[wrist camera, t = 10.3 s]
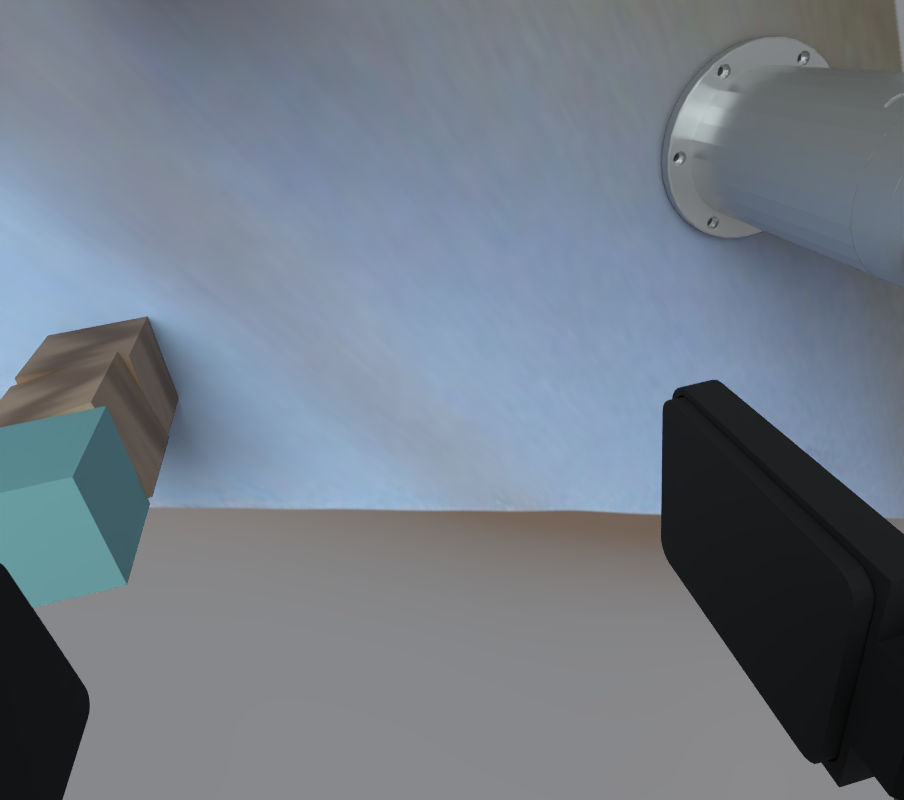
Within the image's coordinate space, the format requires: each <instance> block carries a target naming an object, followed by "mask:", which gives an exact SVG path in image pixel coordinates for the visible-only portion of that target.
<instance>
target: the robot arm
mask: <svg viewBox="0 0 904 800" xmlns="http://www.w3.org/2000/svg"><path fill="white" fill-rule="evenodd" d="M718 69H719V73H718ZM675 155H676V157H675V159H674V156H675ZM673 159H674V160H673ZM662 171H663V181H664V184H665V188H666V191H667V194H668V197H669V199H670V201H671V203H672V205H673V206H674V208H675V210H676V211H677V212H678V213H679V215H680V216H681V217H682V218H683V219H684V220H685V221H686V222H687V223H689V224H690V225H692V226H693V227H695V228H696V229H698V230H700V231H702V232H705V233H707V234H709V235H713V236H717V237H722V238H741V237H746V236H751V235H755V234H757V233H760V232H762V231H765V232H767V233H770V234H772V235H775V236H777V237H780V238H782V239H785V240H787V241H789V242H792V243H794V244H797V245H799V246H802V247H804V248H807V249H809V250H811V251H814V252H816V253H819V254H821V255H824V256H826V257H828V258H831V259H833V260H836V261H838V262H841V263H843V264H846V265H848V266H850V267H853V268H855V269H858V270H860V271H863V272H865V273H868V274H870V275H872V276H875V277H877V278H880V279H882V280H885V281H888V282H891V283H893V284H895V285H898V286H901V287H903V288H904V72H888V71H872V70H856V69H840V68H831V67H830V66H829V64H828V63H827V61H826V60H825V58H824V57H823V56H822V55H821V54H820V53H819V52H818V51H816V50H815V49H814V48H813V47H812V46H810V45H808V44H806V43H804V42H802V41H800V40H797V39H792V38H787V37H774V36H766V37H760V38H754V39H749V40H746V41H743V42H741V43H738V44H736V45H733V46H731V47H730V48H728V49H726V50H725V51H723V52H722V53H720V54H718V55H717V56H715V57H714V58H713V59H712V60H711V61H710V62H709V63H707V64H706V65H705V66H704V67H703V68H702V69H701V70H700V71H699V72H698V73H697V74H696V76H695V77H694V78H693V79H692V81H691V82H690V83H689V84H688V85H687V87H686V88H685V90H684V92H683V93H682V95H681V97H680V98H679V100H678V102H677V104H676V105H675V108H674V110H673V113H672V115H671V118H670V120H669V123H668V125H667V130H666V134H665V138H664V142H663V152H662ZM661 518H662V519H661V541H662V546H663V550H664V553H665V556H666V558H667V560H668V561H669V563H670V565H671V566H672V568H673V569H674V570H675V572H676V573H677V575H678V576H679V578H680V579H681V581H682V582H683V583H684V585H685V586H686V588H687V589H688V591H689V592H690V593H691V595H692V596H693V598H694V599H695V601H696V602H697V604H698V605H699V606H700V608H701V609H702V611H703V612H704V614H705V615H706V617H707V618H708V619H709V621H710V622H711V624H712V625H713V627H714V628H715V630H716V631H717V632H718V634H719V635H720V637H721V638H722V640H723V641H724V642H725V644H726V645H727V647H728V648H729V650H730V651H731V652H732V654H733V655H734V657H735V658H736V660H737V661H738V663H739V664H740V665H741V667H742V668H743V670H744V671H745V673H746V674H747V676H748V677H749V679H750V680H751V681H752V683H753V684H754V686H755V687H756V689H757V690H758V691H759V693H760V694H761V696H762V697H763V698H764V700H765V701H766V703H767V704H768V706H769V707H770V709H771V710H772V712H773V713H774V715H775V716H776V717H777V719H778V720H779V722H780V723H781V725H782V726H783V727H784V729H785V730H786V732H787V733H788V734H789V736H790V738H791V739H792V740H793V742H794V743H795V745H796V746H797V748H798V749H799V750H800V752H801V753H802V754H803V756H804V757H805V758H806V759H807V760H809V761H810V762H811V763H814V764H816V763H820V762H821V763H822V764H823V765H824V767H825V768H826V770H827V771H828V772H829V774H830V775H831V777H832V778H833V779H834V781H835V782H836V784H837V785H838V786H839V787H842V786H845V785H848V784H852V783H855V782H858V781H861V780H865V779H868V778H871V777H875V778H876V779H877V780H878V782H879V783H880V784H881V785H882V787H883V788H884V789H885V791H886V792H887V793H888V795H889V796H891V797H893V798H894V800H904V534H903V533H902V532H900V531H899V530H898V529H897V528H896V527H894V526H893V525H892V524H891V523H890V522H888V521H887V520H886V519H885V518H884V517H882V516H881V515H880V514H879V513H878V512H876V511H875V510H874V509H873V508H872V507H870V506H869V505H868V504H867V503H866V502H864V501H863V500H862V499H861V498H860V497H858V496H857V495H856V494H855V493H854V492H852V491H851V490H850V489H849V488H847V487H846V486H845V485H844V484H843V483H841V482H840V481H839V480H838V479H837V478H835V477H834V476H833V475H832V474H831V473H829V472H828V471H827V470H826V469H825V468H823V467H822V466H821V465H820V464H819V463H817V462H816V461H815V460H814V459H813V458H811V457H810V456H809V455H808V454H807V453H805V452H804V451H803V450H802V449H801V448H799V447H798V446H797V445H796V444H795V443H793V442H792V441H791V440H790V439H789V438H787V437H786V436H785V435H784V434H783V433H781V432H780V431H779V430H778V429H777V428H775V427H774V426H773V425H772V424H771V423H769V422H768V421H767V420H766V419H765V418H763V417H762V416H761V415H760V414H758V413H757V412H756V411H755V410H754V409H752V408H751V407H750V406H749V405H748V404H746V403H745V402H744V401H743V400H742V399H740V398H739V397H738V396H737V395H736V394H734V393H733V392H732V391H731V390H730V389H728V388H727V387H726V386H725V385H724V384H722V383H721V382H719V381H718V380H710V381H705V382H701V383H697V384H693V385H689V386H684V387H680V388H677V389H676V390H675V391H674V394H673V398H672V400H668V401H666V402H665V403H664V406H663V431H662V510H661ZM89 708H90V702H89V695H88V692H87V690H86V688H85V686H84V684H83V683H82V682H81V680H80V678H79V677H78V675H77V674H76V672H75V671H74V669H73V668H72V666H71V665H70V663H69V662H68V660H67V659H66V657H65V656H64V654H63V653H62V651H61V650H60V648H59V647H58V645H57V644H56V642H55V641H54V639H53V638H52V636H51V635H50V633H49V632H48V630H47V629H46V627H45V626H44V624H43V623H42V621H41V620H40V618H39V617H38V615H37V614H36V612H35V611H34V609H33V608H32V606H31V605H30V603H29V602H28V600H27V599H26V597H25V596H24V594H23V593H22V591H21V590H20V588H19V587H18V585H17V584H16V582H15V581H14V579H13V578H12V576H11V575H10V573H9V572H8V570H7V569H6V568H5V567H4V565H3V564H1V563H0V800H62V799H63V796H64V793H65V790H66V786H67V783H68V780H69V777H70V773H71V770H72V767H73V764H74V761H75V758H76V754H77V751H78V748H79V745H80V742H81V738H82V735H83V732H84V729H85V725H86V722H87V719H88V715H89Z"/></svg>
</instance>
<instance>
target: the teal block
mask: <svg viewBox="0 0 904 800" xmlns="http://www.w3.org/2000/svg"><path fill="white" fill-rule="evenodd" d="M149 505H150V503H149V501H148V498H147V496H146V494H145V492H144V489H143V487H142V485H141V483H140V480H139V478H138V476H137V474H136V472H135V469H134V467H133V465H132V463H131V460H130V458H129V456H128V454H127V451H126V449H125V447H124V445H123V442H122V440H121V438H120V436H119V433H118V431H117V429H116V427H115V424H114V422H113V420H112V418H111V415H110V413H109V411H108V409H107V407H106V406H103V407H98V408H93V409H88V410H83V411H78V412H73V413H69V414H64V415H59V416H54V417H49V418H44V419H40V420H35V421H30V422H25V423H20V424H15V425H10V426H6V427H1V428H0V563H1V564H3V565H4V567H5V568H6V569H7V570H8V572H9V573H10V575H11V576H12V578H13V579H14V581H15V582H16V584H17V585H18V587H19V588H20V590H21V591H22V593H23V594H24V596H25V597H26V599H27V600H28V602H29V603H30V605H31V606H32V608H33V607H37V606H41V605H45V604H49V603H54V602H58V601H62V600H66V599H70V598H74V597H78V596H83V595H87V594H90V593H95V592H99V591H103V590H107V589H112V588H116V587H120V586H124V585H127V583H128V579H129V576H130V572H131V569H132V565H133V561H134V558H135V554H136V551H137V547H138V544H139V540H140V537H141V533H142V530H143V526H144V523H145V519H146V516H147V512H148V509H149Z"/></svg>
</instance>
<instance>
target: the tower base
mask: <svg viewBox="0 0 904 800" xmlns="http://www.w3.org/2000/svg"><path fill="white" fill-rule="evenodd" d="M115 351H118V352H119V354H120V356H121V357H122V359H123V361H124V362H125V364H126V366H127V367H128V369H129V371H130V372H131V374H132V376H133V377H134V379H135V381H136V382H137V384H138V386H139V387H140V389H141V391H142V392H143V394H144V396H145V397H146V399H147V401H148V402H149V404H150V406H151V407H152V409H153V411H154V412H155V414H156V416H157V417H158V419H159V421H160V422H161V424H162V426H163V427H164V429H165V431H166V432H167V434H168V433H169V430H170V426H171V423H172V419H173V416H174V412H175V409H176V405H177V402H178V395H177V393H176V390H175V388H174V385H173V382H172V380H171V377H170V375H169V372H168V369H167V367H166V364H165V361H164V359H163V356H162V354H161V351H160V348H159V346H158V343H157V341H156V338H155V335H154V333H153V330H152V327H151V325H150V322H149V320H148V317H142V318H137V319H132V320H127V321H122V322H117V323H111V324H106V325H101V326H96V327H91V328H85V329H80V330H75V331H70V332H65V333H59V334H54V335H49V336H47V338H46V339H45V340H44V341H43V343H42V344H41V345H40V347H39V348H38V349H37V350H36V352H35V353H34V354H33V356H32V357H31V358H30V359H29V361H28V362H27V363H26V365H25V366H24V367H23V368H22V370H21V371H20V372H19V374H18V375H17V376H16V377H15V380H16V382H17V384H20V383H23V382H26V381H29V380H32V379H35V378H38V377H41V376H44V375H47V374H50V373H53V372H56V371H59V370H62V369H65V368H68V367H71V366H74V365H77V364H80V363H83V362H86V361H89V360H92V359H95V358H98V357H101V356H104V355H107V354H109V353H112V352H115Z"/></svg>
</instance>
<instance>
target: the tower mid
mask: <svg viewBox="0 0 904 800" xmlns="http://www.w3.org/2000/svg"><path fill="white" fill-rule="evenodd" d="M103 406H106V407H107V409H108V411H109V413H110V415H111V418H112V420H113V422H114V424H115V427H116V429H117V431H118V433H119V436H120V438H121V440H122V442H123V445H124V447H125V449H126V451H127V454H128V456H129V458H130V460H131V463H132V465H133V467H134V469H135V472H136V474H137V476H138V478H139V480H140V483H141V485H142V487H143V489H144V492H145V494H146V496H147V498H149V497H152V496H153V493H154V489H155V486H156V482H157V478H158V475H159V471H160V468H161V464H162V461H163V457H164V454H165V450H166V446H167V443H168V439H169V436H168V434H167V432H166V431H165V429H164V427H163V426H162V424H161V422H160V421H159V419H158V417H157V416H156V414H155V412H154V411H153V409H152V407H151V406H150V404H149V402H148V401H147V399H146V397H145V396H144V394H143V392H142V391H141V389H140V387H139V386H138V384H137V382H136V381H135V379H134V377H133V376H132V374H131V372H130V371H129V369H128V367H127V366H126V364H125V362H124V361H123V359H122V357H121V356H120V354H119V352H118V351H115V352H112V353H109V354H107V355H104V356H101V357H98V358H95V359H92V360H89V361H86V362H83V363H80V364H77V365H74V366H71V367H68V368H65V369H62V370H59V371H56V372H53V373H50V374H47V375H44V376H41V377H38V378H35V379H32V380H29V381H26V382H23V383H20V384H17V385H14V386H11V387H10V388H9V390H8V391H7V392H6V394H5V395H4V396H3V397H2V399H1V400H0V428H1V427H6V426H10V425H15V424H20V423H25V422H30V421H35V420H40V419H44V418H49V417H54V416H59V415H64V414H69V413H73V412H78V411H83V410H88V409H93V408H98V407H103Z"/></svg>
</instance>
